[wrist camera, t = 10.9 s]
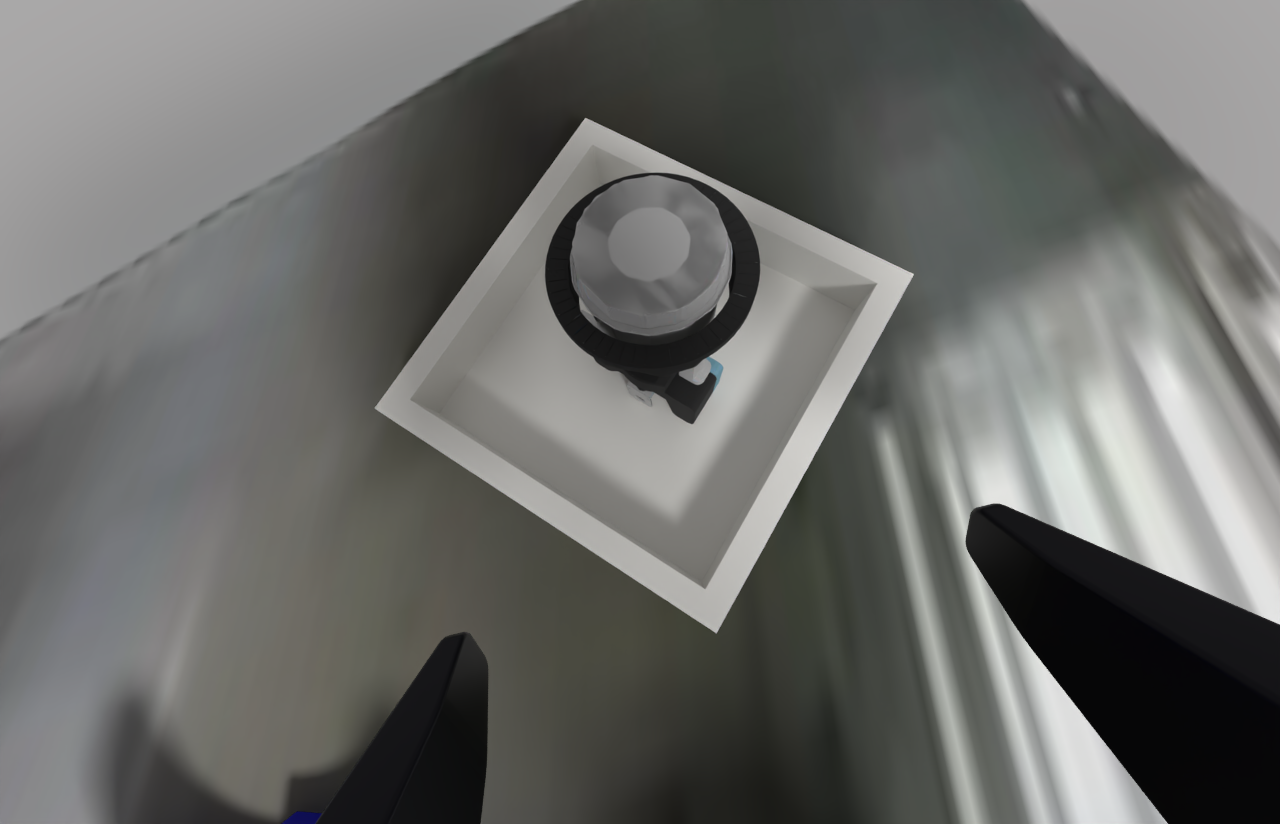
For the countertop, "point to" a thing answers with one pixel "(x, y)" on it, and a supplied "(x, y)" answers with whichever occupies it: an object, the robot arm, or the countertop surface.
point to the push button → (654, 283)
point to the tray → (653, 436)
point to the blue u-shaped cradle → (303, 818)
